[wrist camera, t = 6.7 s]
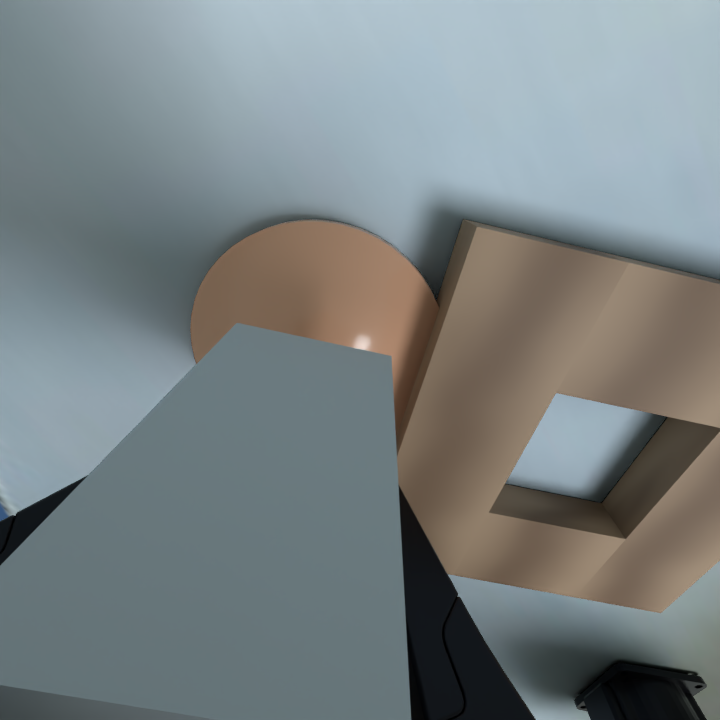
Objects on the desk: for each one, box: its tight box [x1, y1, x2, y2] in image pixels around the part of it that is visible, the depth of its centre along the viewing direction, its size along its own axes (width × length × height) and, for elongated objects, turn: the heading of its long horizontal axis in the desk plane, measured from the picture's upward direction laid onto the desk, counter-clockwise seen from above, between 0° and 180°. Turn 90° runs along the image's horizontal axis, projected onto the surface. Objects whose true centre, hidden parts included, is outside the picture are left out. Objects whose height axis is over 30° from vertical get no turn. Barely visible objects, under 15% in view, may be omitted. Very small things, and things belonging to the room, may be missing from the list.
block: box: [0, 323, 411, 720], centre depth 8 cm, size 4×4×8 cm
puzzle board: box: [396, 219, 720, 613], centre depth 15 cm, size 16×16×2 cm
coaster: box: [190, 219, 439, 435], centre depth 14 cm, size 10×10×1 cm
